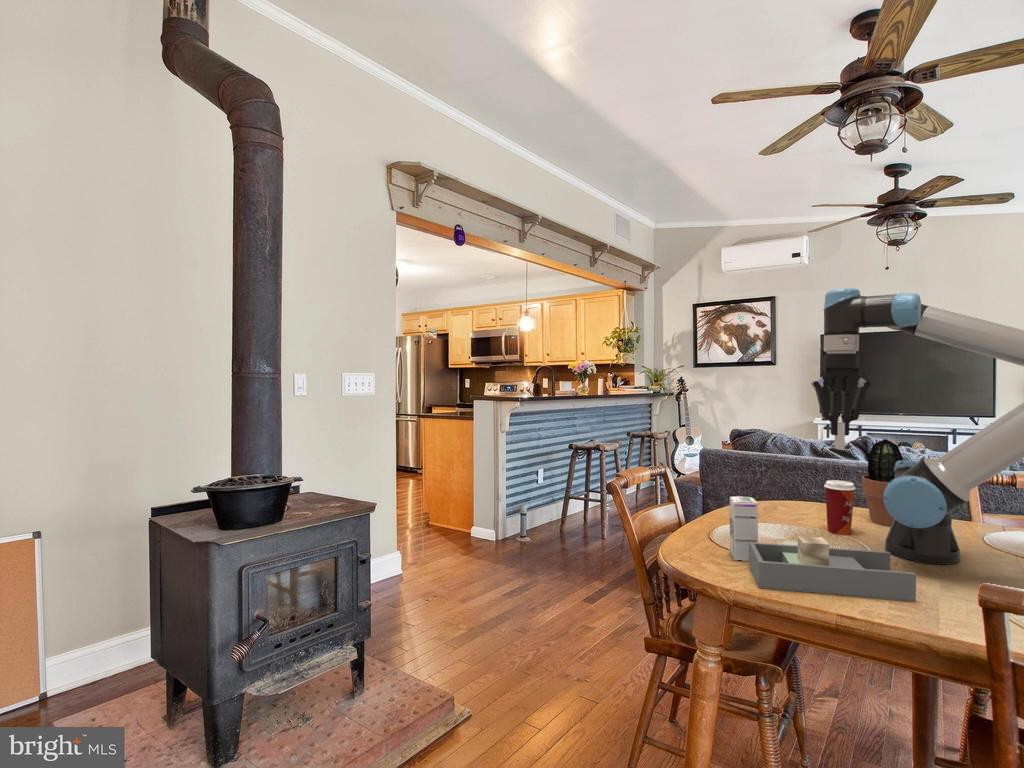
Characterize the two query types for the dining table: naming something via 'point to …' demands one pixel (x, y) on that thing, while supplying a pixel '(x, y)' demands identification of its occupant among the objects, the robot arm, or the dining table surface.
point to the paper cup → (839, 506)
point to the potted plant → (880, 479)
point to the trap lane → (831, 573)
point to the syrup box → (743, 526)
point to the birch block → (813, 551)
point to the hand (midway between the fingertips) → (839, 448)
